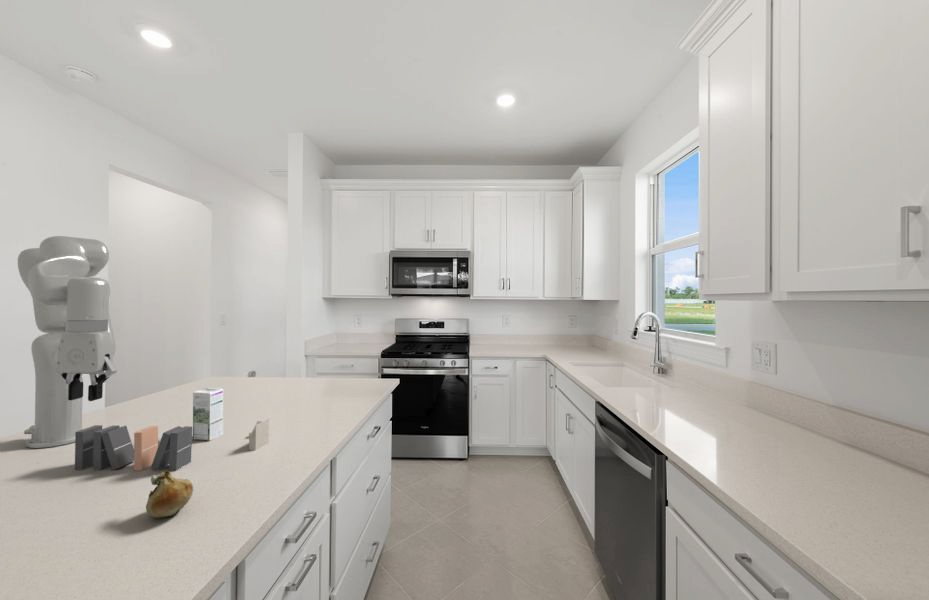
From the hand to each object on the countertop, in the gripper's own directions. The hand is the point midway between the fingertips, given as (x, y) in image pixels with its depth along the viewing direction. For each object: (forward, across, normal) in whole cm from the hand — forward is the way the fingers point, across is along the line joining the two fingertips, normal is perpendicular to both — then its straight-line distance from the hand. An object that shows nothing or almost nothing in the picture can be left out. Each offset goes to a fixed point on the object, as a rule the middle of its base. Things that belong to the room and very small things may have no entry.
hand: (85, 398), depth 96 cm
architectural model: (+16, +38, +12) cm, 43 cm away
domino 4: (+16, +16, -1) cm, 23 cm away
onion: (+15, +38, -23) cm, 47 cm away
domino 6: (+16, +25, -2) cm, 30 cm away
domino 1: (+17, +2, -1) cm, 17 cm away
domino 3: (+16, +11, -1) cm, 20 cm away
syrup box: (+17, +19, +19) cm, 31 cm away
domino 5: (+16, +20, -1) cm, 26 cm away
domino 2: (+16, +7, -1) cm, 18 cm away
